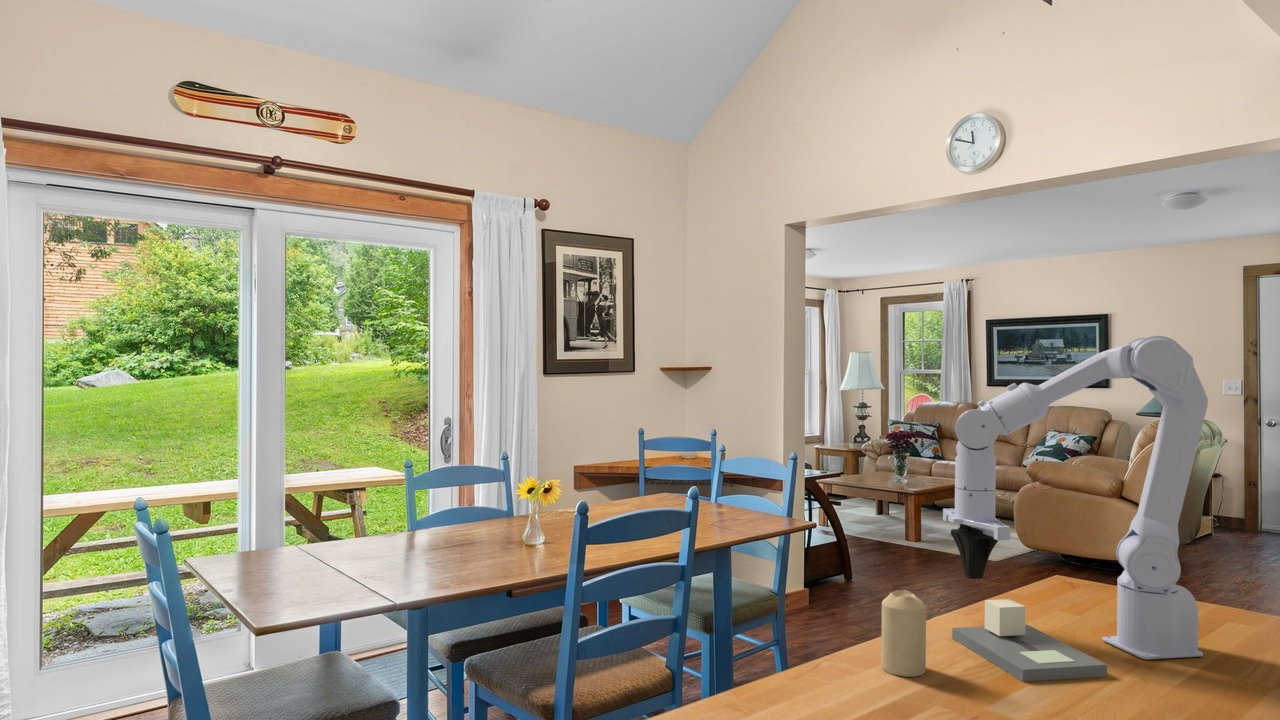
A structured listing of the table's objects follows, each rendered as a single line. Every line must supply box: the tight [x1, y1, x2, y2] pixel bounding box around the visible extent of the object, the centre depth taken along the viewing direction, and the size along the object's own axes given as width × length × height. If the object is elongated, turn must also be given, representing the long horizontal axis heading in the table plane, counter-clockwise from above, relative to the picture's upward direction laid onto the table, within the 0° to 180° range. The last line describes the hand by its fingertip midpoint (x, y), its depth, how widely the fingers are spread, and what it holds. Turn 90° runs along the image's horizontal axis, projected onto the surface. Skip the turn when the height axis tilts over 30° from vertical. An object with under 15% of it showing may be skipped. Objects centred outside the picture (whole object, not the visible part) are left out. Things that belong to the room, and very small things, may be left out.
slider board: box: [951, 623, 1108, 683], centre depth 109 cm, size 12×16×2 cm
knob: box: [984, 598, 1026, 636], centre depth 113 cm, size 4×4×4 cm
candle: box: [880, 589, 927, 678], centre depth 104 cm, size 6×6×10 cm
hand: (974, 577), depth 121 cm, fingers closed
